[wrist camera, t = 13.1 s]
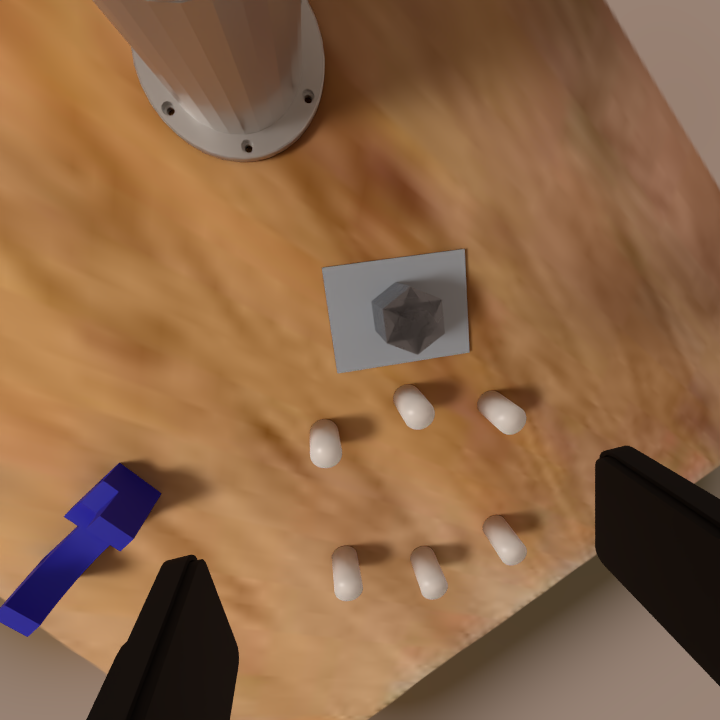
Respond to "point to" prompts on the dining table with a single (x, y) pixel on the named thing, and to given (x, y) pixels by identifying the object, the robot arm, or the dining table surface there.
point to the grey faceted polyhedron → (408, 317)
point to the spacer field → (422, 558)
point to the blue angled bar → (82, 545)
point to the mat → (369, 279)
